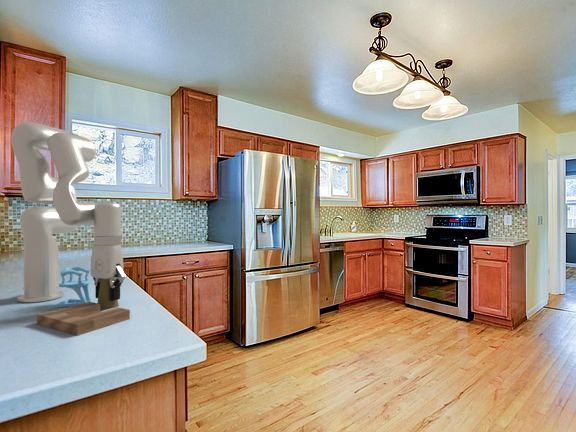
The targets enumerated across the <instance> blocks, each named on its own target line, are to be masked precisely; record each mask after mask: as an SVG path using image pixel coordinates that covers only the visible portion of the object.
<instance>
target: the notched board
mask: <svg viewBox="0 0 576 432" xmlns="http://www.w3.org/2000/svg"><path fill="white" fill-rule="evenodd" d="M130 317H131V310H130V309H129V308H128V309H127V308H124V307H115V308H111V309H106V310H103V311H101V309H100V304H98V303H96V302H93V301H91V302H87V303H83V304H79V305H75V306H69V307H61V308H59V309H58V308H57V309H54V310H49V311H46V312H42V313H37V314H36V324H37V325H40V326H43V327H46V328H50V329H54V330H57V331H61V332H65V333H68V334H72V335H75V336H80V334H81V335H84V334H86V333H89V332H93V331H95V330H99V329H102V328H105V327H108V326H111V325H115V324H118V323H121V322H124V321H127V320H131V319H130Z"/></svg>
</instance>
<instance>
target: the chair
mask: <svg viewBox="0 0 576 432" xmlns="http://www.w3.org/2000/svg"><path fill="white" fill-rule="evenodd" d="M83 272H84V273H86V274H85V276H84V280H82V276H83ZM89 273H91V269H85V268H83V267H79V266H74V267H70V266H67V267H65V268H63V269H62V270H61V272H60V276H61V279H62V281H61V283H58V288H68V289H71V290H73V291H74V292H75V293H76V295H77V296H78V297H79V298H67V299H65V300H62V301H61V302H59V303H56V304H55V305H54V306H55V309H56V308H57V309H58V308H59V309H60V308H66V307H70V306H75V305H79V304H83V303H87V302H92V299H91V294H90V291H89V285H90V284H91V281H92V280H91V279H89V275H90V274H89ZM67 275H69V280H67V281H66V277H65V276H67ZM73 275H75V276H78V278H77V280H74V276H73ZM81 288H82V289H83V292H82V289H81ZM83 293H84V294H83Z"/></svg>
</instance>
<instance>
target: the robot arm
mask: <svg viewBox="0 0 576 432" xmlns="http://www.w3.org/2000/svg"><path fill="white" fill-rule="evenodd" d="M10 139H11V146H12V150H13V151H12V152H13V153H14V156H15V158H16V160H17V165H18V172H19V180H20V187H21V193H22V198H23V199H24V200H25V201H26V202H29V203H31V204H42V205H44V204H46V205H53V206H33V207H28V208H26V209H25V210H23V211H22V212H21V213H20V215H19V224H20V228H21V232H22V239H23V287H22V290H23V294H21V295H19V296H18V297H17V302H19V303H39V302H47V301H53V300H57V299H59V298H63V296H64V295H65V294H64V291H63V290H59V246H58V242H57V241H56V239H55V238H54V236H53V234H54V235H55V234H69V233H72V232H74V231H77V229H78V227H80V226H82V227H83V226H93V247H92V250H91V258H90V276H91V277H92V279H93V281H94V284H93V285H94V287H95V299H98V296H99V289H100V282H99V279H98V278H101V279H109V281H110V285H111V288H110V289H109V300H110V301H114V300H118V301H119V300H120V299H121V287H122V284H123V283H124V280H125V279H126V277H127V276H126V274H125V272H124V255H123V249H122V206H121V205H120V203H118V202H97V201H96V202H94V201H93V202H92V201H78V199H77V192H76V189H75V187H74V185H76V184H79V183H81V182H84V181H85V180H86V179H88V178H89V176H90V169H89V168H88V165H87V162H88V163H89V162H91V161H92V160H94V159H95V157H96V154H97V149H96V145H95V144H94V143H93V141H92V140H91V139H90V138H87V137H84V136H81V135H79V134H76V133H74V132H71V131H68V130H65V129H61V128H56V127H52V126H49V125H46V124H42V123H35V122H27V121H25V122H19V123H18V124H16V126H15V127H14V128H13V130H12V133H11V138H10ZM40 150H42V151H46V152H47V151H48V152H49V153H50V155H51V158H52V160H53V164H54V166H55V168H56V172H57V174H58V176H59V178H58V177H57V178H56V177H53V176H52V174H51V171H50V170H51V169H50V163H49V162H48V160H47V159H46V157H45V156H44V155H43V153H41V152H40ZM115 275H116V277H114V276H115ZM115 279H116V281H115V282H114V280H115Z"/></svg>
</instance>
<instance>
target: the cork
mask: <svg viewBox="0 0 576 432" xmlns="http://www.w3.org/2000/svg"><path fill="white" fill-rule="evenodd" d="M114 277H116V275H115V276H114ZM98 279H99V282H100V289H99V296H98V298H97V303H98V304H100V310H111V309H114V308H118V307H119V299H118V300H114V301H110V300H109V289H110V288H111V285H110V281H109V279H101V278H98ZM115 281H116V279H115V280H114V282H115Z"/></svg>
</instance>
